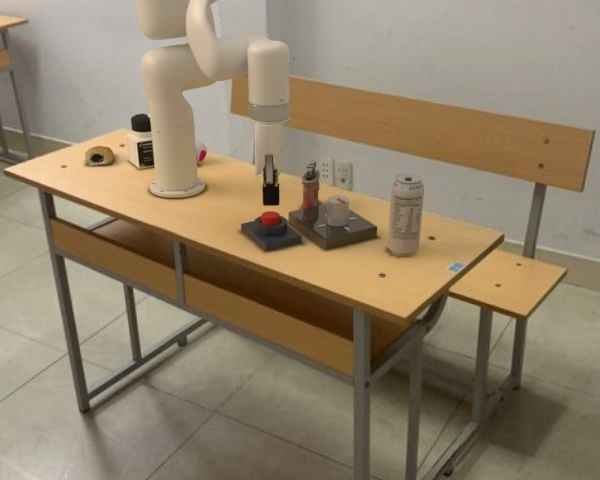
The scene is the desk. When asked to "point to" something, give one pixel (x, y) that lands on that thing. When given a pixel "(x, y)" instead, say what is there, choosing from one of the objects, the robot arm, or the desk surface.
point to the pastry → (99, 156)
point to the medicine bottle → (141, 142)
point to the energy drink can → (405, 214)
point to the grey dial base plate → (331, 227)
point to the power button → (270, 218)
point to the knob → (337, 210)
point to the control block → (271, 234)
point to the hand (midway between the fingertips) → (271, 203)
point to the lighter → (310, 186)
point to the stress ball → (200, 151)
